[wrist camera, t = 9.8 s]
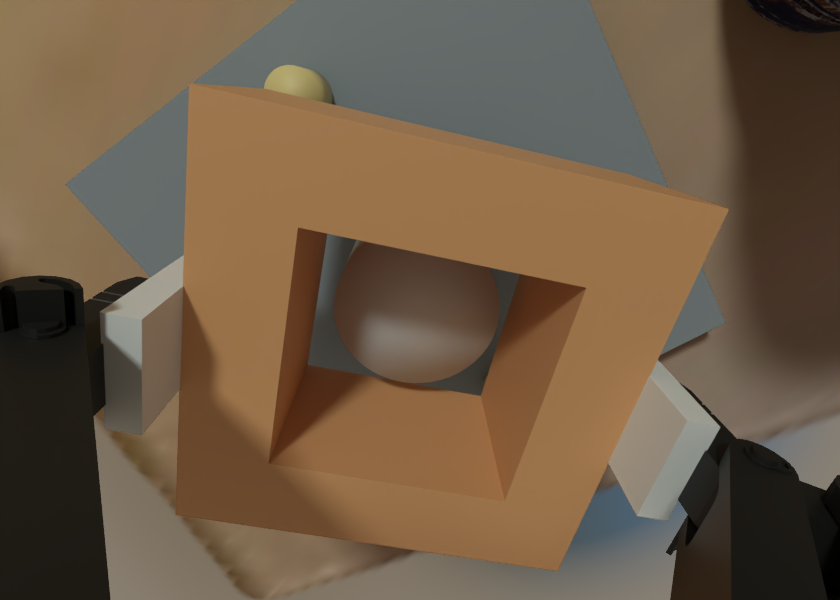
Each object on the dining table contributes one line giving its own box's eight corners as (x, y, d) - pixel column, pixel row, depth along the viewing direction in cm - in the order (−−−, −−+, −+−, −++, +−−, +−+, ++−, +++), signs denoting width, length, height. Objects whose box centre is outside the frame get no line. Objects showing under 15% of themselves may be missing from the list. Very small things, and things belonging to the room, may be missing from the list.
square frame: (265, 88, 13) (188, 83, 9) (629, 174, 15) (729, 209, 10) (237, 406, 18) (175, 514, 13) (521, 454, 19) (557, 571, 14)
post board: (89, 178, 20) (-66, 216, 14) (507, -150, 16) (568, -316, 10) (362, 483, 27) (346, 606, 20) (706, 308, 23) (821, 393, 16)
